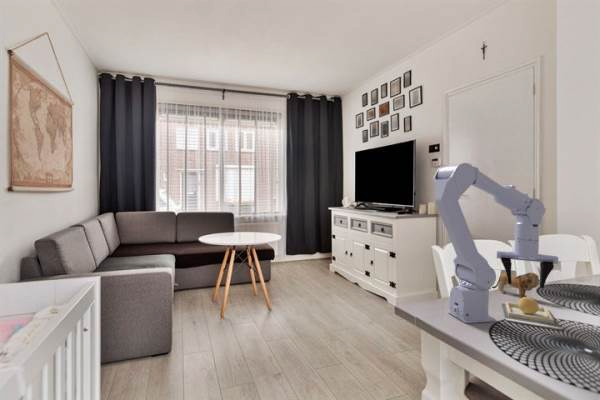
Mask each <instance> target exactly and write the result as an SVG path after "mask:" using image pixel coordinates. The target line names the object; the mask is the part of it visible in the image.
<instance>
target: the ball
mask: <svg viewBox="0 0 600 400" xmlns="http://www.w3.org/2000/svg"><path fill="white" fill-rule="evenodd" d="M517 304H518V306H519V308H520V310H521V311H522V312H524V313H526V314H534V313H536V312H537V311H538V308H539V307H540V306H539V303H538V302H537V300H536V299H534V298H532V297H529V296H527V297H523V298H521V299H519V300H518V303H517Z"/></svg>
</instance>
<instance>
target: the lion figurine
mask: <svg viewBox="0 0 600 400" xmlns="http://www.w3.org/2000/svg"><path fill="white" fill-rule="evenodd" d="M539 282H540V276H539V275H538V274H537V273H535V272H527V273H524V274H519V275H518V276H516V277H515V276H513V275H511V284H508V278H507V274H506V273H502V274H500V275H499V276H498V281H497V282H496V284H495V285H493V286H492V287H491V289H496V288H497V287H499V288H498V289H499V290H500V291H501V294H504V295H505V294H506V291H505V290H503V289H504V287H505V286H506V285H509V286H510V287H511V288H514V289H518V293H519V295H518V296H519V298H520V299H521V298H523V297H528V296H527V295H526V292H528V291H531V290H533V289H534V288H538V287H539ZM520 299H519V300H520Z"/></svg>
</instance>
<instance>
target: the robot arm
mask: <svg viewBox="0 0 600 400" xmlns="http://www.w3.org/2000/svg"><path fill="white" fill-rule="evenodd" d="M432 179H433V182H434V185H435V186H434V201H435V204H436V206H437V209H438V212H439V214H440V217H441V220H442V222H443V224H444V227H445V230H446V233H447V234H448V237H449V240H450V241H451V242H450V243H451V245H452V246H453V249H454V252H455V254H456V256H455V257H454V259H452V260H453V261H452V262H453V264H454V274H455V276H456V278H458V283H459V284H458V285H457V286H453V287H452V288H451V290H450V292H449V310H447V312H448V314H450V315H451V316H454V317H455V318H456V319H459V320H460V321H462V322H464V324H465V323H466V324H473V323H474V324H475V323H487V322H496V321H497V319H496V318H495V317H492V316H490V315H489V303H490V301H489V299H490V295H489V294H490V290H492V287H494V286H495V285H494V284H495V283H496V281H497V274H496V271H495V270H494V268H493V267H491V265H490V264H489V263H488V260H487V259H486V258H485V257H484V256H483V255H482V254H481V253H480V252H479V251H478V248H477V246H476V244H475V240H474V239H473V235H472V233H471V231H470V227H469V226H468V223H467V220H466V217H465V216H464V213H463V210H462V207H461V205H460V203H459V200H460V198H461V197H462V196H463V194H464V193H465V192H466V191H467V190H468V189H469V188H470V187H471V186H473V187H475V188H477V189H479V190H481V191H483V192H485V193H487V194H489V195H491V196H493V200H494V202H496V203H497V204H499V205H501V206H503V208H506V209H508V210H509V211H510V212H511V215H512V216H515V220H514V222H515V223H514V250H513V251H503V250H502V251H501V250H500V251H499V250H497V251H496V259H498V260H500V261H501V263H502V265H503V268H504V271H505V274H507V278H508V284H507V285H509V284H511V276H512V265H513V264H512V260H514V261H515V260H517V261H525V262H526V261H527V262H537V263H539V268H540V269H539V270H540V271H539V274H540V276H539V280H540V281H539V285H538V287H540V289H544V288H545V285H546V281H547V278H548V277H549V275H550V274H551V272H552V271H553V269H554V268H555V265H559V257H558V256H556V255H549V254H541V253H539V252H540V251H539V246H540V245H539V244H540V243H539V242H540V225H541V224H542V221H543V219H542V218H543V216H544V215H545V213H546V207H545V205H544V203H543V202H542V201H541V200H540V199H539V198H535V197H534V198H533V197H532V198H531V197H530V196H529V194H528V193H525V192H522V191H520V190H518V189H516V188H517V187H516V186H515V185H513V184H509V185H508V184H504V185H501V184H499V183H498V182H497V181H495V180H493V179H492V178H491V177H489V176H487V175H486V174H485V173H483V172H482V171H480V169H479V167H476V166H473V165H472V164H471V163H468V162H462V163H458V164H451V165H446V164H445V165H442V166H440V167H438V168H437V171H436V172H435V174H434V176H433V177H432ZM554 264H555V265H554Z"/></svg>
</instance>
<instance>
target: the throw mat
mask: <svg viewBox="0 0 600 400" xmlns="http://www.w3.org/2000/svg"><path fill="white" fill-rule="evenodd" d="M501 307H502V310H503V315H504V317H505V321H506V322H508V323H512V324H519V325H523V326H530V327H536V328H541V329H548V330H553V331H559V332H562V330H563V329H562V328H561V327H560V325H559V324H558V322H557V321H556V319H555V317H554V316H553V314H552V312H551V311H550V310H549V309H547V307H541V306H539V308H538V311H537V312H536V313H534V314H526V313H524V312H522V311H521V310H520V308H519V306H518V303H515V302H508V301H505V303H501Z"/></svg>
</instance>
